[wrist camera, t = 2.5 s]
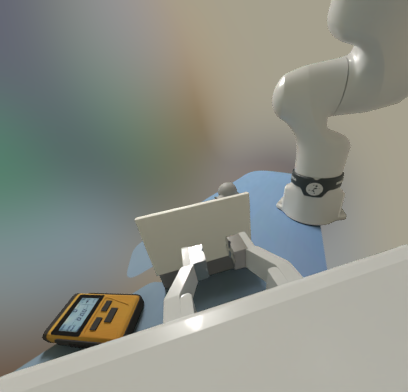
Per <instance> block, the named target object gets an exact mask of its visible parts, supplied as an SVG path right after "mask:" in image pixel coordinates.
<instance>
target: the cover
mask: <svg viewBox="0 0 408 392" xmlns="http://www.w3.org/2000/svg"><path fill="white" fill-rule="evenodd" d="M135 222H136V225H137V227H138V230H139V232H140V235H141V237H142V240H143V242H144V245H145V247H146V250H147V252H148V255H149V257H150V260H151V262H152V265H153V267H154V270H155V273H156V275H157V276H159V275H162V274H166V273H169V272H173V271H176V270H180V268H181V267H183V262H182V253H181V248H184V247H188V246H192V245H196V244H200V243H201V244H202V248H203V252H204V255H205V259H206V262H208V261H211V260H215V259H218V258H222V257H225V256H229V255H228V253H227V249H226V244H227V243H226V241H225V237H226V236H229V235H233V234H236V233H240V232H245V233H246V234H247V236H248V237H249V238H250V240H251V229H250V205H249V193H248V192H244V193H240V194H236V195H231V196H227V197H223V198H218V199H214V200H210V201H206V202H201V203H197V204H193V205H189V206H184V207H180V208H176V209H172V210H167V211H163V212H159V213H154V214H150V215H146V216H141V217H137V218H135Z"/></svg>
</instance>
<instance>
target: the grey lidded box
mask: <svg viewBox="0 0 408 392" xmlns="http://www.w3.org/2000/svg"><path fill="white" fill-rule="evenodd" d="M206 263H207V269H208V273H209V275H212V274H216V273H219V272H222V271H226V270H229V269H232V268H234V266H233V264H232V262H231V258H230V257H229V256H225V257H222V258H218V259H215V260H211V261H208V262H206ZM178 272H179V270H176V271H173V272H169V273H166V274H162V275H159V276H160V278H161V280H162V282H163V285H164V287H165V288H169V287H171V286H172V284H173V282H174V280H175V278H176V276H177V274H178Z"/></svg>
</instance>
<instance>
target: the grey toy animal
mask: <svg viewBox="0 0 408 392" xmlns="http://www.w3.org/2000/svg"><path fill="white" fill-rule="evenodd" d="M218 194H219V196H218V197H214V198H215V199H218V198H223V197H227V196H231V195H236V194H239V193H238V192H237V189H236V187H235V185H234V184H233V183H229V182H227V183H223V184H222V185H221V186H220V187H219V189H218Z"/></svg>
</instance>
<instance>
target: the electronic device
mask: <svg viewBox="0 0 408 392" xmlns="http://www.w3.org/2000/svg"><path fill="white" fill-rule="evenodd" d="M143 305H144V301H143V299H142V297H141V296H140V295H137V294H107V293H105V294H104V293H89V294H79V293H77V294H75V295H74V296H73V297H72V298H71V299H70V300H69V302H68V303H67V304H66V305H65V307H64V308H63V309H62V310H61V312H60V313H59V314H58V315H57V317H56V318H55V319H54V320H53V322H52V323H51V324H50V326H49V327H48V328H47V329H46V330H45V332H44V334H43V337H42V338H43V339H44V340H45V341H47V342H50V343H57V344H59V345H68V346H71V347H73V346H74V347H75V348H76V347H78V348H80V347H81V348H84V347H85V348H86V349H87V348H90V347H93V346H96V345H99V344H102V343H105V342H108V341H111V340H114V339H117V338H121V337H124V336H127V335H130V334H132V333H133V330H134V328H135V325H136V323H137V320H138V318H139V315H140V313H141V310H142V308H143Z"/></svg>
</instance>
